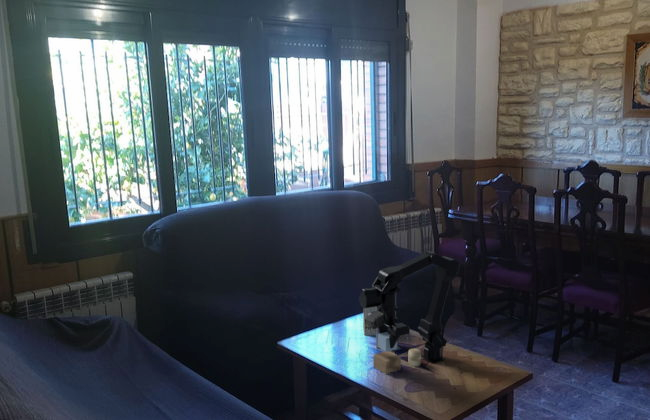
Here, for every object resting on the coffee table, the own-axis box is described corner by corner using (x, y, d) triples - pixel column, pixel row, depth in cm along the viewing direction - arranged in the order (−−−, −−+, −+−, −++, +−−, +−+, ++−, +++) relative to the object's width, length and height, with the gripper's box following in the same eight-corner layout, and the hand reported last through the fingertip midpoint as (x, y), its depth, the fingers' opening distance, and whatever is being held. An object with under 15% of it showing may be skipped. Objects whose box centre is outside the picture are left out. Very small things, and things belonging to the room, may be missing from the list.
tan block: (388, 362, 205) (388, 350, 204) (400, 369, 199) (400, 356, 198) (373, 367, 201) (373, 354, 200) (385, 374, 195) (385, 361, 195)
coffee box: (379, 335, 230) (379, 298, 227) (364, 335, 230) (364, 298, 227) (377, 327, 239) (378, 291, 236) (363, 327, 239) (363, 291, 236)
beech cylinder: (415, 360, 207) (415, 347, 206) (423, 364, 203) (423, 352, 202) (405, 362, 205) (406, 350, 204) (413, 367, 201) (413, 354, 200)
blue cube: (377, 346, 200) (378, 333, 199) (389, 344, 202) (389, 331, 201) (385, 351, 196) (385, 338, 195) (397, 349, 198) (397, 335, 197)
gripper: (355, 300, 200) (355, 340, 203) (384, 316, 184) (383, 359, 187) (380, 295, 206) (380, 334, 208) (410, 310, 189) (410, 353, 192)
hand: (387, 345), depth 199 cm, fingers closed on blue cube, 5 cm apart
